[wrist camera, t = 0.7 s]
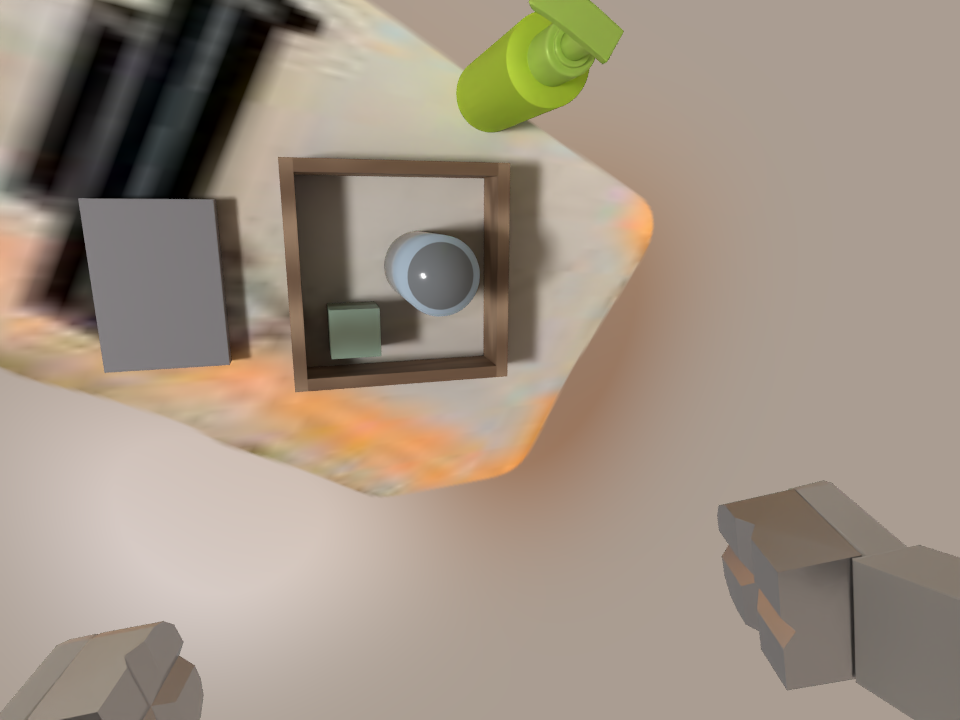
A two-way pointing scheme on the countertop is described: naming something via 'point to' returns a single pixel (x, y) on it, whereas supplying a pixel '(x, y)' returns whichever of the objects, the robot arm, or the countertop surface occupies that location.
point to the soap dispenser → (536, 64)
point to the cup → (432, 272)
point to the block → (354, 330)
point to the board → (156, 282)
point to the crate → (493, 276)
